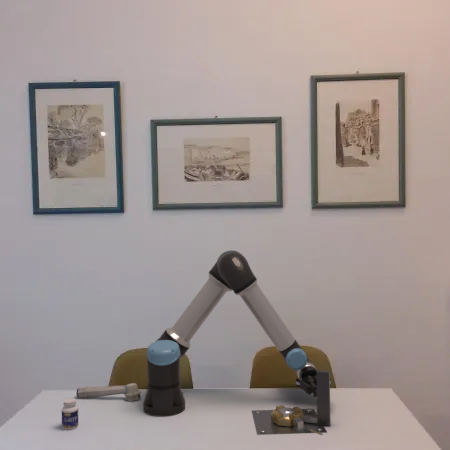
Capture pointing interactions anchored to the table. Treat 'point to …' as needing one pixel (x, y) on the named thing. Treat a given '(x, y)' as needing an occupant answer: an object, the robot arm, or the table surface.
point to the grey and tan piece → (322, 405)
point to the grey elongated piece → (110, 391)
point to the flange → (268, 427)
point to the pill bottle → (69, 414)
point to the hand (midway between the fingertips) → (323, 397)
